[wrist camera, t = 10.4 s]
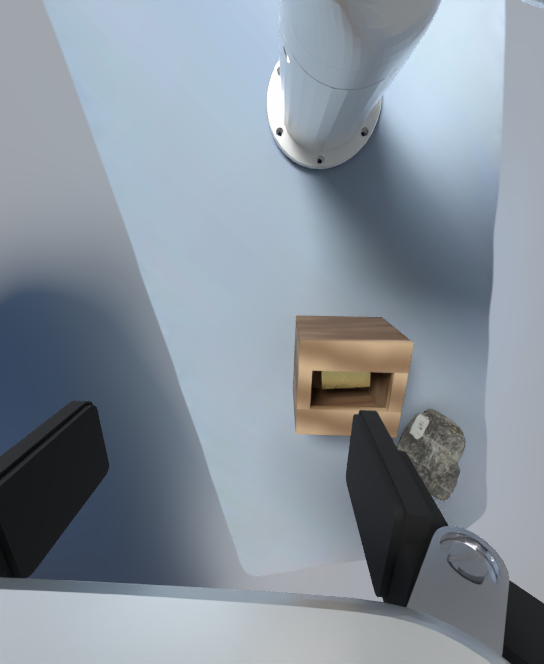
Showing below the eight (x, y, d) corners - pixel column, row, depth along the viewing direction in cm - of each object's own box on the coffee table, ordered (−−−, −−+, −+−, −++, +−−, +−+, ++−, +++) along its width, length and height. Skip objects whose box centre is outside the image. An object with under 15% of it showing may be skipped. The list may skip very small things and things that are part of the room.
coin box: (296, 315, 40) (300, 340, 30) (381, 317, 40) (413, 343, 30) (293, 390, 44) (295, 433, 34) (371, 392, 43) (396, 437, 34)
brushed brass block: (316, 349, 41) (321, 367, 35) (358, 346, 40) (370, 364, 35) (316, 368, 42) (321, 389, 36) (358, 366, 41) (370, 386, 36)
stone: (382, 403, 48) (422, 412, 39) (420, 403, 50) (468, 412, 40) (384, 488, 47) (426, 520, 37) (423, 486, 48) (474, 517, 38)
